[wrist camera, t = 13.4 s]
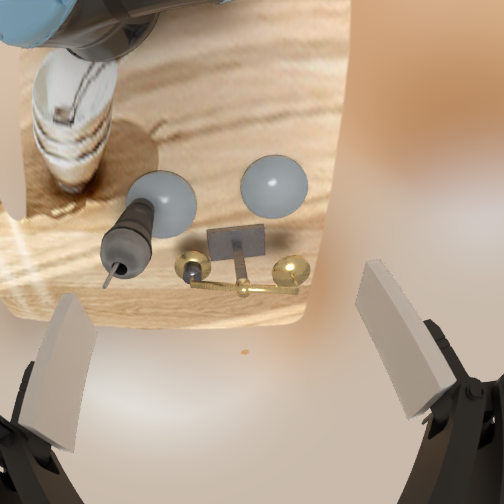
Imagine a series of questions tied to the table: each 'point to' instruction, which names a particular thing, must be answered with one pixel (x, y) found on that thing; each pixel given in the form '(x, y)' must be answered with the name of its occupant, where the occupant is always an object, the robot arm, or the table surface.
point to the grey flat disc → (166, 201)
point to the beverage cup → (129, 242)
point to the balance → (241, 263)
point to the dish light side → (274, 187)
